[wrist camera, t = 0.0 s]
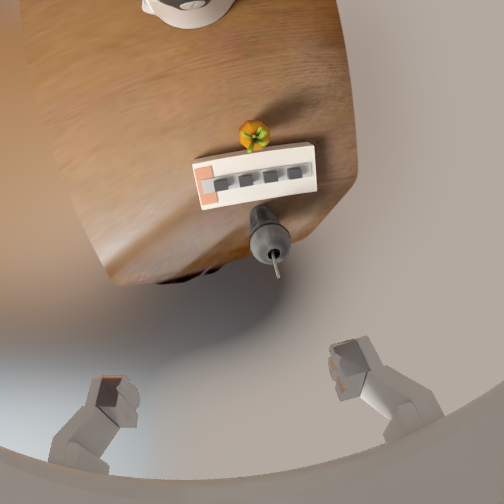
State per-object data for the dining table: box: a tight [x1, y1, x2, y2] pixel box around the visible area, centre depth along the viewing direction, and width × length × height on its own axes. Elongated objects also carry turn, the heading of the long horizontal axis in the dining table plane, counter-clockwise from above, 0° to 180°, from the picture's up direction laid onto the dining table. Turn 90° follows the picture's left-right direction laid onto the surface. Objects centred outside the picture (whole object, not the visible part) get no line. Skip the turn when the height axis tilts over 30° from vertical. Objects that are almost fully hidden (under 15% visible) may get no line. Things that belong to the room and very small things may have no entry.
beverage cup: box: [249, 205, 291, 278], centre depth 51 cm, size 7×7×20 cm
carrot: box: [239, 120, 270, 153], centre depth 44 cm, size 5×5×15 cm
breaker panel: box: [192, 142, 317, 210], centre depth 52 cm, size 9×22×6 cm, turn 98°
